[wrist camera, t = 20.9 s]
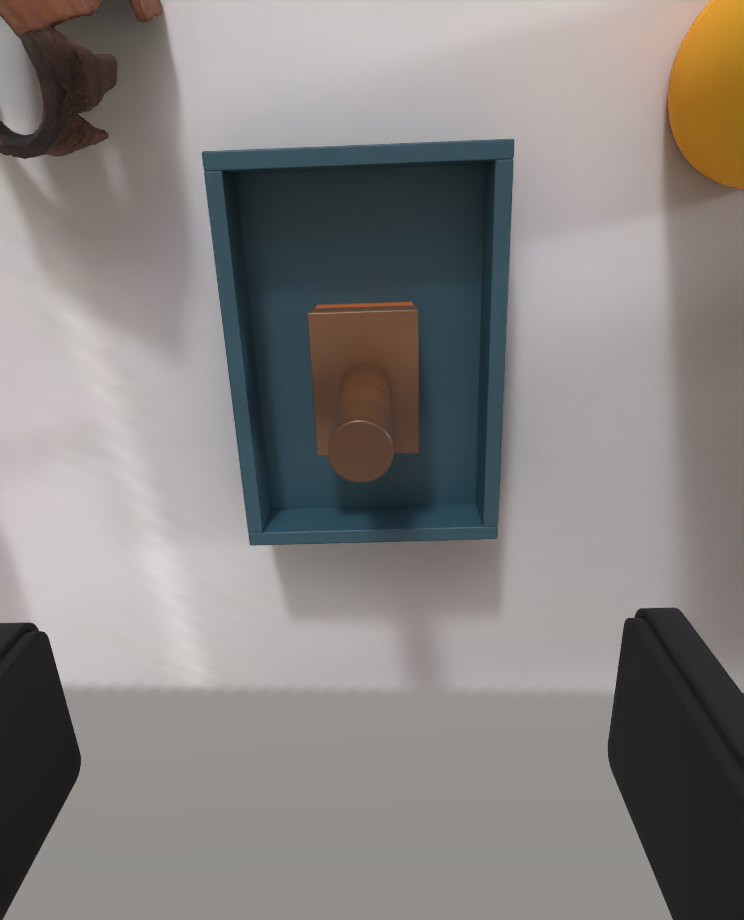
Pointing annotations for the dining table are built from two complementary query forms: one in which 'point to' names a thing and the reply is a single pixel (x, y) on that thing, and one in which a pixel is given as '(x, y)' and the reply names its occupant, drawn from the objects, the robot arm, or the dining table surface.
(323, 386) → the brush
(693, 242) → the dining table surface
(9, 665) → the robot arm
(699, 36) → the beer bottle
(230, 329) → the tray
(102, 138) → the brown twisted loop
